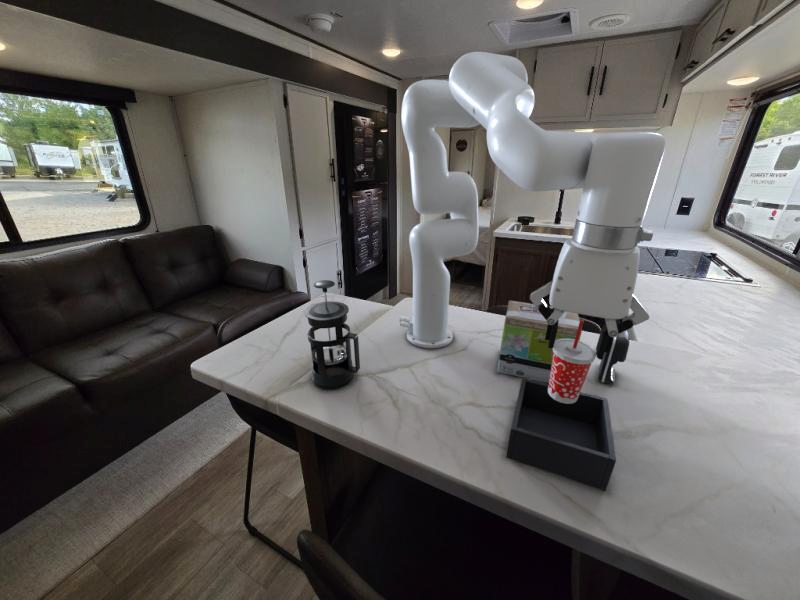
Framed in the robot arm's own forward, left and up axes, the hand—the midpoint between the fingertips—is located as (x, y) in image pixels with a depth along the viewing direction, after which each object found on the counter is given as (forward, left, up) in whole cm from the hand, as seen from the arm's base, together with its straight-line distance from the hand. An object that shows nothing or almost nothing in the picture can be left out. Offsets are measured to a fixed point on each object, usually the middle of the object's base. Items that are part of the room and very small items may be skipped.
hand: (574, 348), depth 53 cm
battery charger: (+10, +25, -19) cm, 33 cm away
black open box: (0, 0, -19) cm, 19 cm away
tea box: (-6, +21, -19) cm, 29 cm away
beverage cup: (0, 0, -9) cm, 9 cm away
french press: (-46, -1, -19) cm, 49 cm away
